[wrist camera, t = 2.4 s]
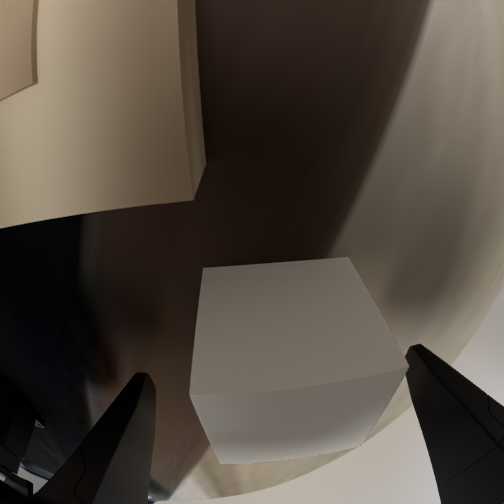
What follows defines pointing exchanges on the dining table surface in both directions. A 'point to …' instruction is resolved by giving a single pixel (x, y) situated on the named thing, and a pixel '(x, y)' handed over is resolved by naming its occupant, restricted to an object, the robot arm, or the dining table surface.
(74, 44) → the oak base
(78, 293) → the dining table surface
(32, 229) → the dining table surface
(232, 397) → the cream cube
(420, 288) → the dining table surface
